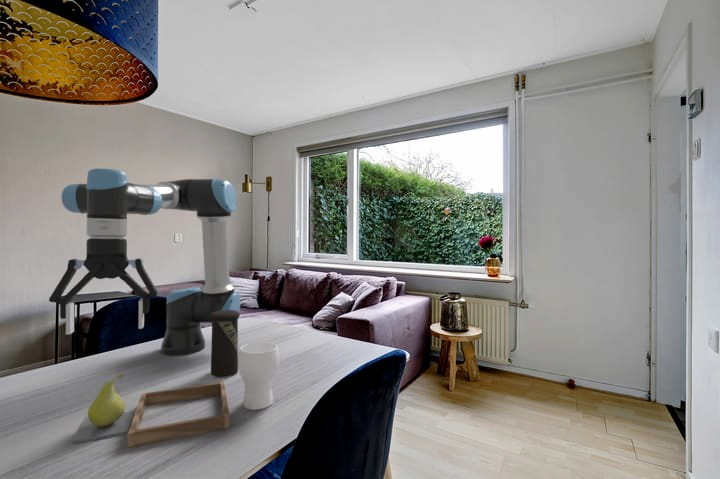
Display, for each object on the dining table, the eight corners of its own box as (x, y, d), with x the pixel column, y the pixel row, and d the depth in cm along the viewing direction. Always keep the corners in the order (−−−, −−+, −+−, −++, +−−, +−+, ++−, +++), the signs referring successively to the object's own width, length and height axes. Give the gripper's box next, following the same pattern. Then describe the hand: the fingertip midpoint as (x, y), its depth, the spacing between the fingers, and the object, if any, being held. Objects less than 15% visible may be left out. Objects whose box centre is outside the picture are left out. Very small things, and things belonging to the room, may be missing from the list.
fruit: (102, 416, 86) (102, 366, 86) (133, 417, 86) (133, 367, 86) (80, 431, 79) (80, 378, 79) (113, 432, 79) (114, 378, 79)
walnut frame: (141, 404, 93) (142, 393, 93) (223, 392, 101) (224, 381, 101) (127, 447, 75) (127, 433, 75) (229, 428, 83) (229, 415, 83)
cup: (247, 417, 88) (248, 356, 88) (230, 401, 96) (231, 345, 96) (285, 404, 95) (286, 348, 94) (267, 390, 103) (268, 338, 102)
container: (229, 379, 110) (230, 314, 110) (203, 376, 112) (204, 312, 112) (244, 368, 119) (244, 309, 118) (219, 366, 120) (220, 307, 120)
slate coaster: (85, 420, 85) (85, 418, 85) (134, 412, 89) (134, 410, 89) (71, 443, 76) (71, 441, 76) (127, 433, 80) (127, 431, 80)
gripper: (29, 237, 73) (29, 340, 73) (167, 238, 83) (167, 329, 84) (44, 236, 80) (44, 330, 80) (170, 237, 90) (169, 321, 90)
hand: (106, 330), depth 82 cm, fingers open, 13 cm apart
